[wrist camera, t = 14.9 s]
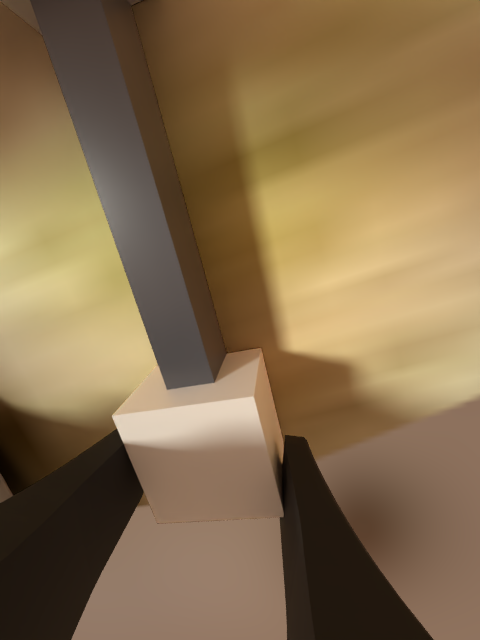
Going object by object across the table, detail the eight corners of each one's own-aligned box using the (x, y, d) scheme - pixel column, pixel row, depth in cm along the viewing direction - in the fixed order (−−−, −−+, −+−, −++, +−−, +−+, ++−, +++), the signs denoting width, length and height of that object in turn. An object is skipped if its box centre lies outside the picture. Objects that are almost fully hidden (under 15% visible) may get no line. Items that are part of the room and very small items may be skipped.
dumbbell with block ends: (186, 452, 12) (157, 523, 9) (9, -48, 7) (-157, -217, 5) (283, 442, 11) (284, 516, 8) (149, -123, 7) (52, -384, 4)
